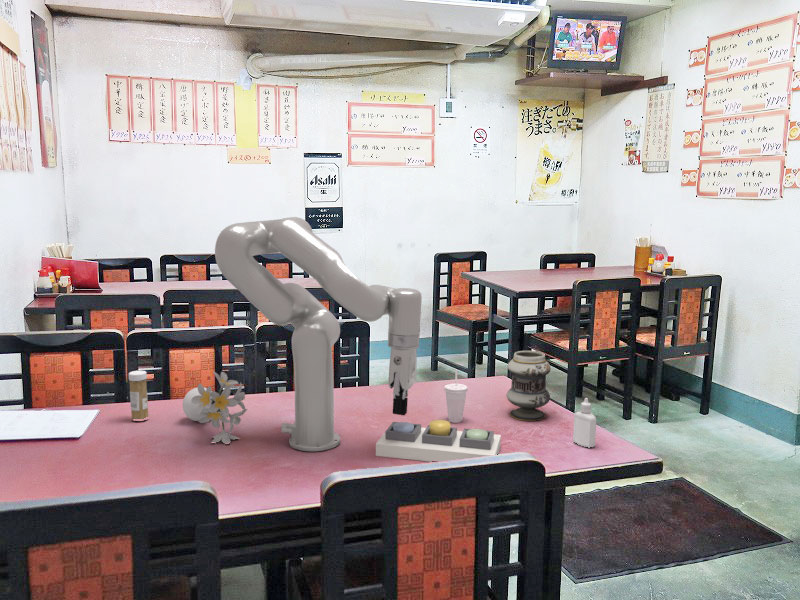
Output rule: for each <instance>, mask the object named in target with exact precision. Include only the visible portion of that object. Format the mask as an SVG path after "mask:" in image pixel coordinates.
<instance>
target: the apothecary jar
mask: <svg viewBox="0 0 800 600" xmlns="http://www.w3.org/2000/svg"><path fill="white" fill-rule="evenodd" d="M507 369H508V371H509V372H510V373H511V387H510V388H509V389H508V391H507V393H506V398H507V400H508V401H509V403H511V404H512V405H514V406H516V407H517V408H516V409H512V410H511V411H510V413H509V415H510V417H511V418H513V419H516V420H518V421H526V422H535V421H536V420H538V421H541V419H542V420H544V419H546V413H545V412H544V411H542V410H540V409H539V408H542V407H544V406H545V405H547V404H548V403H549V402H550V399H551V394H550V392H549V391H548V389H547V388H546V387H547V385H546V384H547V382H546V381H547V380H546V379H547V375H549V373H550V372H551V369H552V367H551V365H550V362H548V361H547V360H546V355H545V353H544V352H541V351H536V350H519V351H515V352H514V354H513V358H512V359H511V360H509V362H508V364H507ZM543 418H544V419H543Z"/></svg>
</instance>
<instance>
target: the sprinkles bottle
mask: <svg viewBox="0 0 800 600" xmlns="http://www.w3.org/2000/svg"><path fill="white" fill-rule="evenodd" d="M147 373H148V372H147V371H146V370H133V371H130V372H128V382H129V397H130V399H129V400H130V411H131V412H130V413H131V419H144V418H146V417H148V416H149V402H148V400H149V399H148V390H147V386H148V385H147V378H148V375H147Z"/></svg>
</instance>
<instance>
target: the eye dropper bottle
mask: <svg viewBox="0 0 800 600" xmlns="http://www.w3.org/2000/svg"><path fill="white" fill-rule="evenodd" d="M573 416H574V417H573V432H572V435H573V436H572V442H573V443H574V442H575V443H577V444H578V445H577V444H576V445H577V446H579V445H581V446H580V447H582V446H585V447H588V448H587V449H591V448H590V447H592V448H594V447H595V445H596V436H597V435H596V434H597V417H596V415H594V414H593V413H592V404H591V403H590V402H589V398H587V397H585V398H584V400H583V402H581V403H580V411H577V412H575V413H574V415H573ZM575 443H574V444H575ZM585 447H584V448H585Z"/></svg>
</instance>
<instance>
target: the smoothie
mask: <svg viewBox="0 0 800 600" xmlns="http://www.w3.org/2000/svg"><path fill="white" fill-rule="evenodd" d="M454 373H455V374H454V375H455V377H454V379H455V380H454V383H448V384H446V385H444V389H443V390H444V392H445V400H446V409H447V418H448V419H447V421H448V422H450V423H453V424H458V423H462V422H463V417H464V410H465V405H466V403H465V402H466V398H467V397H466V396H467V392H468V391H469V390H468V385H466V384H462V383H458V370H455V372H454Z"/></svg>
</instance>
